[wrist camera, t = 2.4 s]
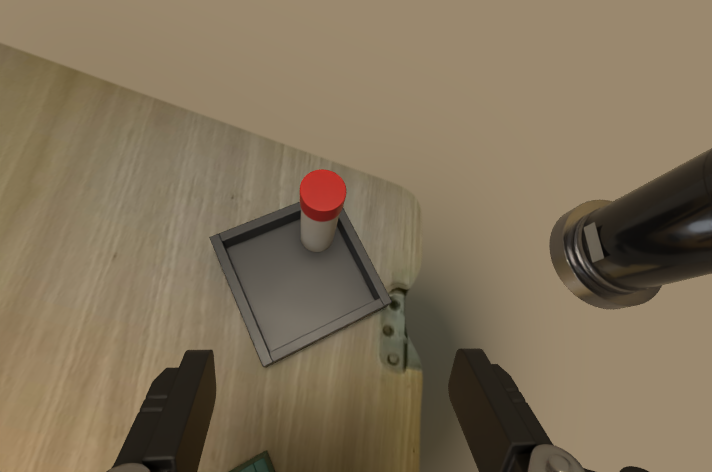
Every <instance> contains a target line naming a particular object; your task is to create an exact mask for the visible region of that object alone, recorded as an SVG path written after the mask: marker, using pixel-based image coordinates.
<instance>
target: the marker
mask: <svg viewBox="0 0 712 472" xmlns="http://www.w3.org/2000/svg"><path fill="white" fill-rule="evenodd" d="M345 197H346V186H345V183H344V181H343V180H342V179H341V177H340V176H339V175H337V174H336V173H334V172H332V171H329V170H315V171H312V172H310V173H309V174H307V175H306V176H305V177H304V179H303V180H302V182H301V185H300V206H301V242H302V244H303V245H304V247H305V248H306V249H308V250H310V251H312V252H322V251H325V250H326V249H328V248H329V247H330V245H331V244H332V241H333V237H334V234H335V230H336V226H337V222H338V218H339V214H340V212H341V210H342V208H343V204H344V201H345Z"/></svg>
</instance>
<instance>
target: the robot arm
mask: <svg viewBox="0 0 712 472" xmlns="http://www.w3.org/2000/svg"><path fill="white" fill-rule="evenodd" d="M574 245H575V250H576V254H577V257H578V259H579V261H580V263H581V265H582V267H583V268H584V270H585V271H586V272H587V274H588V275H589V276H590V277H591V278H592V279H593V280H594V281H595V282H597V283H598V284H599V285H601V286H603V287H604V288H606V289H608V290H611V291H613V292H617V293H624V294H629V293H635V292H639V291H643V290H646V289H648V288H651V287H656V286H660V285H664V284H669V283H673V282H678V281H682V280H686V279H690V278H694V277H698V276H703V275H707V274H711V273H712V149H710V150H708V151H706V152H704V153H702V154H700V155H698V156H697V157H695V158H693V159H691V160H689V161H687V162H686V163H684V164H682V165H680V166H678V167H677V168H674V169H672V170H671V171H669V172H667V173H665V174H663V175H661V176H660V177H658V178H656V179H654V180H652V181H650V182H648V183H647V184H645V185H643V186H641V187H639V188H638V189H635V190H634V191H632V192H630V193H628V194H626V195H624V196H623V197H621V198H619V199H617V200H615V201H613V202H611V203H609V204H607V205H606V206H604V207H602V208H598V209H596V210H594V211H592V212H591V213H589V214H587V215H586V216H584V217H583V218H582V219H581V220H580V222H579V223H578V225H577V227H576V230H575V235H574ZM448 389H449V397H450V401H451V403H452V406H453V408H454V411H455V413H456V415H457V418H458V421H459V423H460V426H461V428H462V430H463V433H464V435H465V438H466V440H467V443H468V445H469V448H470V450H471V453H472V455H473V458H474V460H475V463H476V465H477V468H478V470H479V472H595V471H591V470H587V469H585V468H583V467H582V466H581V464H580V463H579V462H578V461H577V460H576V459H575V458H574V457H573V456H572V455H571V454H569V453H568V452H566V451H565V450H563V449H561V448H559V447H557V446H554V445H553V444H552V442H551V441H550V439H549V437H548V436H547V434H546V433H545V431H544V429H543V428H542V426H541V424H540V423H539V421H538V420H537V418H536V416H535V415H534V413H533V412H532V410H531V408H530V407H529V405H528V403H526V402H525V399H524V397H523V395H522V394H521V392H519V390H518V387H517V386H516V384H515V382H514V381H513V380H512V378H511V376H510V375H509V374H508V373H507V372H506V371H504V370H503V369H502V368H501V367H500V366H499V365H498V364H491V363H490V361H489V360H488V358H487V356H486V354H485V353H484V352H483V350H482V349H458V350H457V352H456V356H455V360H454V364H453V367H452V371H451V375H450V379H449V384H448ZM215 398H216V378H215V366H214V355H213V351H212V350H187V351H186V352H185V354H184V356H183V359H182V361H181V364H180V366H179V368H166V369H165V370H164V371H163V372H162V373H161V374H160V375H159V376H158V377H157V378H156V379H155V380H154V381H153V382H152V384H151V387H150V389H149V391H148V393H147V395H146V399H145V400H144V401H143V404H142V406H141V408H140V412H139V413H138V414H137V416H136V419H135V421H134V423H133V425H132V427H131V429H130V431H129V434H128V436H127V438H126V440H125V442H124V444H123V446H122V449H121V451H120V453H119V455H118V457H117V459H116V461H115V463H114V465H113V467H112V468H111V469H110V470H108V471H107V472H197V470H198V466H199V462H200V458H201V454H202V451H203V447H204V443H205V439H206V435H207V432H208V428H209V424H210V420H211V416H212V413H213V409H214V404H215ZM620 472H648V471H647V470H644V469H641V468H638V467H632V466H629V467H625V468H623V469H621V471H620Z"/></svg>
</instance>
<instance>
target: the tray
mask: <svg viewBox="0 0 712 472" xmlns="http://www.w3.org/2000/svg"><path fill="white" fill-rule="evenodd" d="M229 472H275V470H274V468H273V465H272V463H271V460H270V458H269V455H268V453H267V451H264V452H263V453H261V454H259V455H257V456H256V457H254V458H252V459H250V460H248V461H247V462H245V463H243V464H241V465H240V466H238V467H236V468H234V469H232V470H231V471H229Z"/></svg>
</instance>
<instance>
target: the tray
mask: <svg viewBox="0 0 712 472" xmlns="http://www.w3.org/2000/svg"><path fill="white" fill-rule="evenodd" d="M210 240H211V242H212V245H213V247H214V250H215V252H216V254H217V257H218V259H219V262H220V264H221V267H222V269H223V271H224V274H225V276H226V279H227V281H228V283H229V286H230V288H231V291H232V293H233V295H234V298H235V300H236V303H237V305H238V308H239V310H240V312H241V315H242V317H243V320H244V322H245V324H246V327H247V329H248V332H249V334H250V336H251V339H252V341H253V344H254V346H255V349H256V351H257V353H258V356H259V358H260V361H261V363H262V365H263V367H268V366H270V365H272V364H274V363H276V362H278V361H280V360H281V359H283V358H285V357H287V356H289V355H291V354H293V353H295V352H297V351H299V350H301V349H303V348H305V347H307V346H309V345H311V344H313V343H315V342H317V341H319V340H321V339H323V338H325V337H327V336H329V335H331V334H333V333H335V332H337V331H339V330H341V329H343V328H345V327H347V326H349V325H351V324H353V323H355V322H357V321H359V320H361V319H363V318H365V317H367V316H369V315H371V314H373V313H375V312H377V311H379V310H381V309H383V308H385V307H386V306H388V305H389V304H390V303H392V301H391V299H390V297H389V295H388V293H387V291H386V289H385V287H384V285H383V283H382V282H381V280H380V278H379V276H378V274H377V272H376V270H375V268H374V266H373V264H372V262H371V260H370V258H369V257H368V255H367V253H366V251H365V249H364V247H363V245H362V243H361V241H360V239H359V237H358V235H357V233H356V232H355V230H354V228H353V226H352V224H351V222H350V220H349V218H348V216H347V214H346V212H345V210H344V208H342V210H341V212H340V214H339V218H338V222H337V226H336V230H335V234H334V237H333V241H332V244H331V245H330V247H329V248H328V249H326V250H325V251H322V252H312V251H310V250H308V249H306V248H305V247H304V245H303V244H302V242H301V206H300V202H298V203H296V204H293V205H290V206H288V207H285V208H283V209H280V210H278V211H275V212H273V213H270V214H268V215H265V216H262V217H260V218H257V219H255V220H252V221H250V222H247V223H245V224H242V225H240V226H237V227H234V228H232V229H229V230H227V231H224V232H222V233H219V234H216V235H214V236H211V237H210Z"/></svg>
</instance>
